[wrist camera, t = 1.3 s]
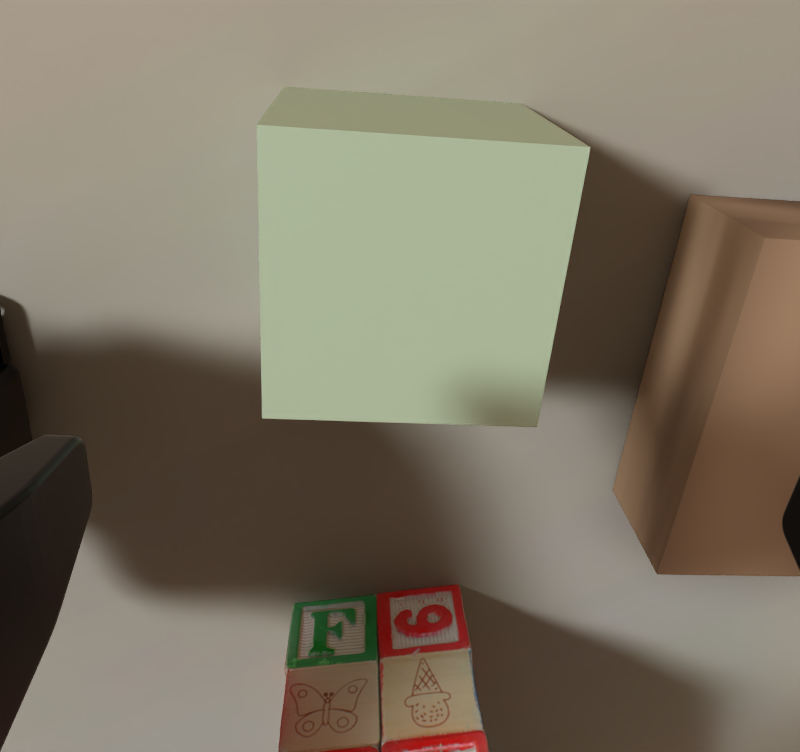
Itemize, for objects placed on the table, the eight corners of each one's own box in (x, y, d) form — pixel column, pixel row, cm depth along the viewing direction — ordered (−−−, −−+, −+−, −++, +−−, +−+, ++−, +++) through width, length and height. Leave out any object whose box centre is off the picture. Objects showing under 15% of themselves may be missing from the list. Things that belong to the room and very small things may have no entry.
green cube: (284, 309, 21) (261, 418, 15) (284, 86, 18) (256, 124, 12) (490, 318, 21) (537, 427, 16) (521, 103, 18) (590, 147, 13)
